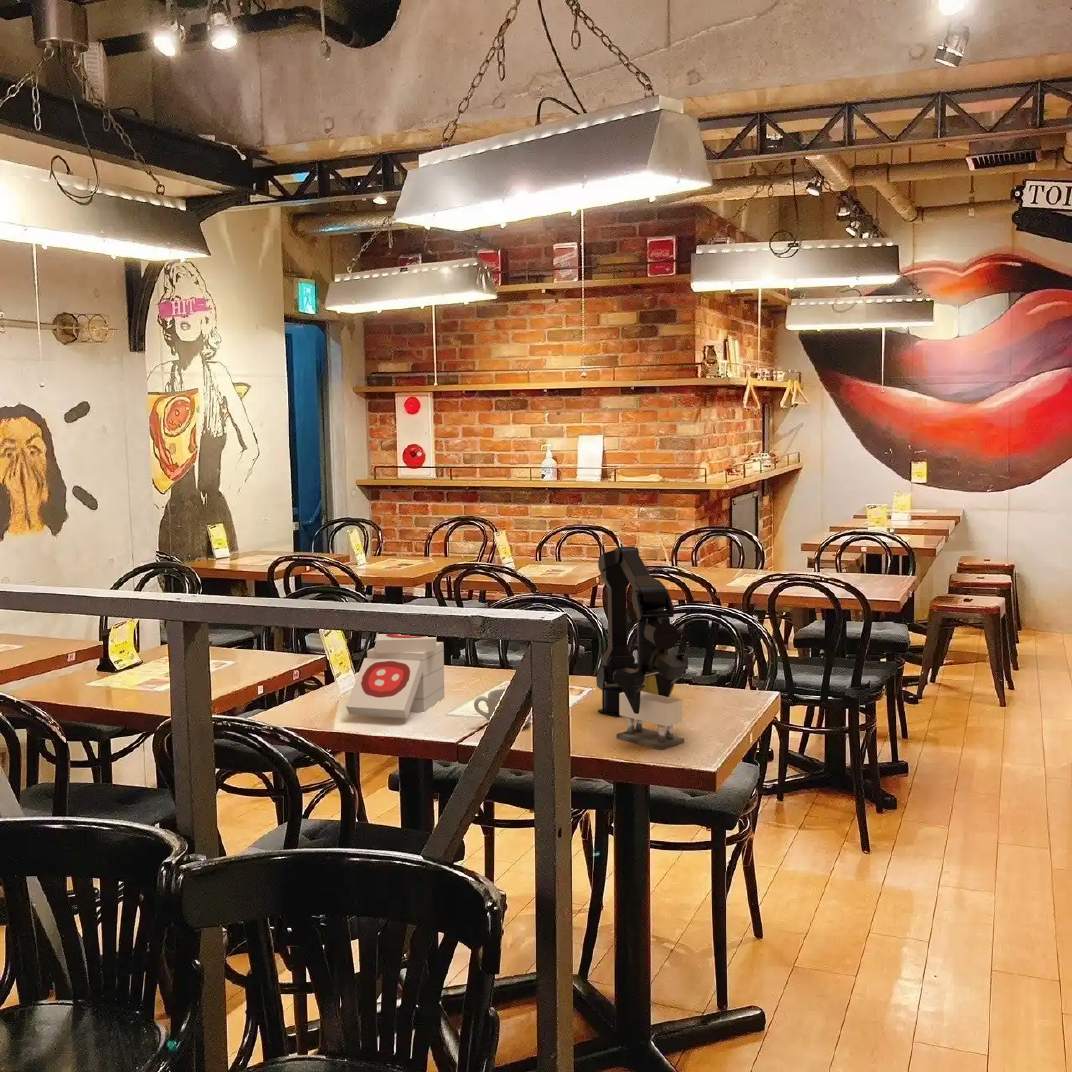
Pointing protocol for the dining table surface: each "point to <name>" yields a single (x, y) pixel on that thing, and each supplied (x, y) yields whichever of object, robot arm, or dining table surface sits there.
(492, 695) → the teacup
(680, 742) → the peg stand
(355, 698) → the stacked boxes
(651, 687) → the flower pot
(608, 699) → the robot arm
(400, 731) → the dining table surface
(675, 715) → the block
